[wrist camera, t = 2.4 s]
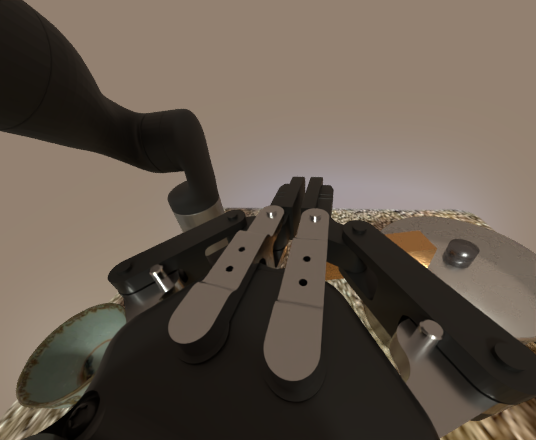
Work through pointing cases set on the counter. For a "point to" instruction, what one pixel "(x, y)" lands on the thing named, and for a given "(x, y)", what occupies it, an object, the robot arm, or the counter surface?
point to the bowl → (69, 358)
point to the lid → (473, 267)
